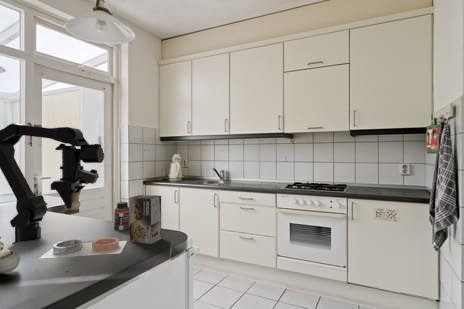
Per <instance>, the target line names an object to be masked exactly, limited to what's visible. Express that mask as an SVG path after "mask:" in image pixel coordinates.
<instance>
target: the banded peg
mask: <svg viewBox="0 0 464 309" xmlns="http://www.w3.org/2000/svg"><path fill="white" fill-rule="evenodd" d="M63 212H64V215H76V214H79V213H80V194H79V192H74V193H73V199H72V206H71V208H70V209H68V208H67V207H66V205H65V204H64V211H63Z"/></svg>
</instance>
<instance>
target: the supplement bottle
mask: <svg viewBox="0 0 464 309" xmlns="http://www.w3.org/2000/svg"><path fill="white" fill-rule="evenodd" d="M113 213H114V216H113V217H114V218H113V219H114V224H113V226H114V228H113V229H114V231H115V232H116V231H130V218H129V201H119V202H117V203H116V207H115V208H114V212H113Z"/></svg>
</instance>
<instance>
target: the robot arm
mask: <svg viewBox="0 0 464 309" xmlns="http://www.w3.org/2000/svg"><path fill="white" fill-rule="evenodd" d="M24 136H25V137H33V138H35V137H36V138H43V139H50V140H52V141H56V142H60V144H59V145H58V146H56V147H55V149H54V150H56V151H61V165H60V166H59V170H61V177H60V178H59V180H54V181H52V182H51V183H50V191H56V192H57V194H58V195H59V196H60V198H61V200H62V202H63V204H64V206H65V205H66V207H67V208H68V209H70V208H71V206H72V199H73V193H74V192H79V195H80V194H81V192H82V190H83V189H84V188H85V187H86V185H89V184H92V185H93V184H96V183H97V180H98V179H99V176H100V174H99V173H98V170H97V169H93V168H91V170H85V169H84V165H82V164H81V163H82V162H83V163H84V164H101V163H103V162H104V159H105V153H104V149H103V148H102V144H101V143H93V144H90V143H89V142H88V141H87V140H86V139H85V137H84V134H83V132H82V130H81V129H79V128H76V127H69V126H62V127H61V126H60V127H42V126H34V125H25V124H22V123H20V124H19V123H10V124H8V125H6V126H5V127H4V128H2V129H0V170H1V173H2V175H3V176H4V178H5V180H6V182H7V183H8V185H9V187H10V189H11V191H12V193H13V195H14V197H15V199H16V205H15V209H16V212H17V214H15V216H14V217H13V218H12V219H10V221H9V223H10V226H11V228H14V241H13V242H12V243H11V245H12V246H13V245H14V244H17V243H18V242H29V241H35V240H39V239H41V238H42V227H41V226H40V222H42V221H43V218H44V216H45V215H46V214H47V211H48V207H47V206H48V203H47V202H46V201H45V198H44V196H43V194H41V195H40V194H39V195H36V194H35V193H34V192H33V191H32V189H31V187H30V184H29V183H28V181H27V179H26V178H25V176H24V173H23V172H22V169H21V167H20V166H19V165H18V162H17V160H16V158H15V152H16V150H15V147H14V146H15V145H17V144H18V143H19V141H20V140H21V139H22V138H23V137H24ZM77 147H79V148H77ZM81 161H82V162H81ZM82 184H83V185H82Z"/></svg>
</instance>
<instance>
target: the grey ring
mask: <svg viewBox="0 0 464 309" xmlns="http://www.w3.org/2000/svg"><path fill="white" fill-rule="evenodd" d="M82 243H83V241H82V240H81V239H67V240H61V241H59V242H56V243H55V244H53V245H52V248H53V253H54V254H58V255H63V254H70V253H75V252H77V251H80V250H81V249H82Z"/></svg>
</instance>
